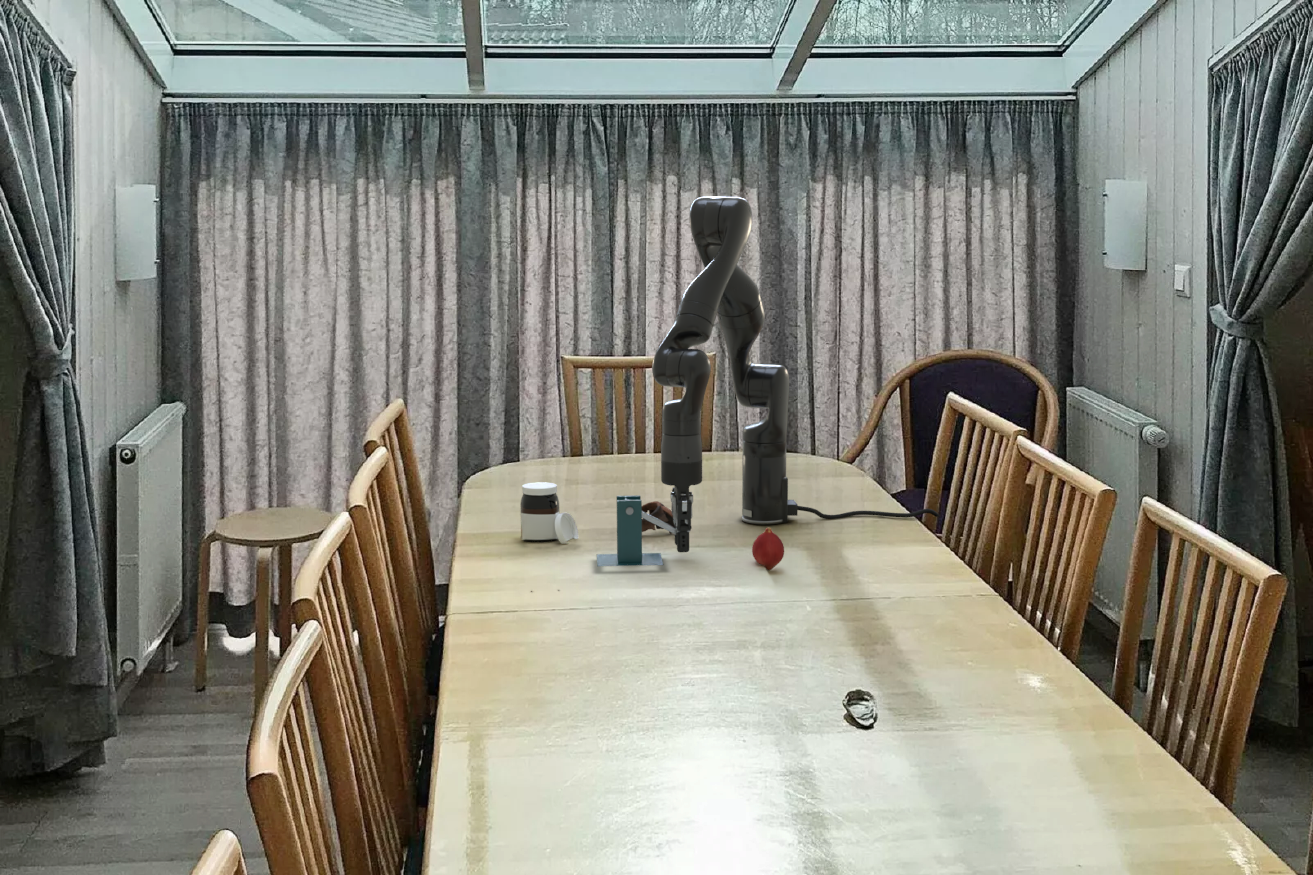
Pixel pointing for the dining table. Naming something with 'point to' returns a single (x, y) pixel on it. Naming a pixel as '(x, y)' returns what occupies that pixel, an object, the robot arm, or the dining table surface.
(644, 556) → the bracket
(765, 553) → the onion
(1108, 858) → the dining table surface
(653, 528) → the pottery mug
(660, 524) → the lever
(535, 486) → the spread jar
